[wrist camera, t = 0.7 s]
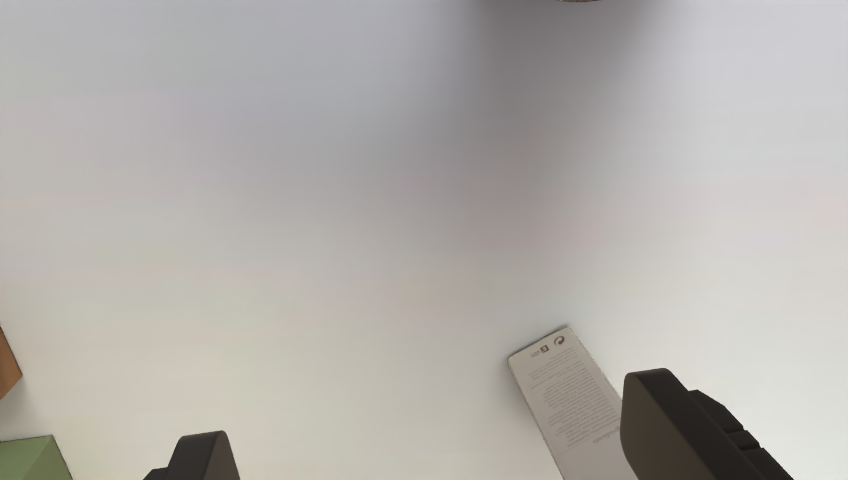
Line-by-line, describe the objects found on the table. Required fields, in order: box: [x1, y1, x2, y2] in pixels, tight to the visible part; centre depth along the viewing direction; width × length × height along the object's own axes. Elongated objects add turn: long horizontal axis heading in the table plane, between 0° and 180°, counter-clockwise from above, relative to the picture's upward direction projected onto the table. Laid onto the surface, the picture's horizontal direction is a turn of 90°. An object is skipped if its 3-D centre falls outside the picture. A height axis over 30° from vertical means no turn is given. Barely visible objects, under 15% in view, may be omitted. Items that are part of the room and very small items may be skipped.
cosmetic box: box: [508, 327, 638, 480], centre depth 26 cm, size 6×4×12 cm
